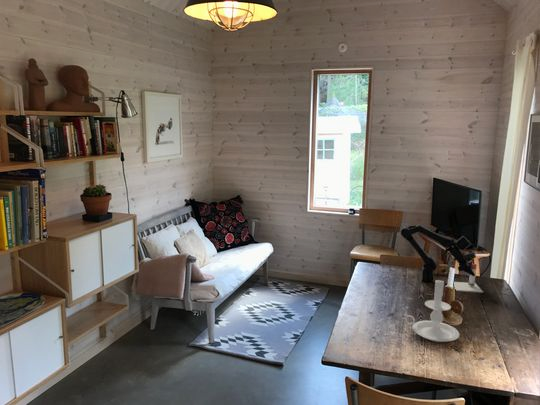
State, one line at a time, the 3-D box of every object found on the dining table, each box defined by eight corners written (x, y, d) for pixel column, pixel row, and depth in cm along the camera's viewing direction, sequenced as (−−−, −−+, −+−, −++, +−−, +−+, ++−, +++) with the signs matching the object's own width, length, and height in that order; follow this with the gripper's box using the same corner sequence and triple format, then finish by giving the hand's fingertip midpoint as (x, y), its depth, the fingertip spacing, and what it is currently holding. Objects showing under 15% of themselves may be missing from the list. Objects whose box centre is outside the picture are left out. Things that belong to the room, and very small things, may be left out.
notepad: (453, 291, 260) (453, 290, 260) (447, 282, 275) (447, 281, 275) (483, 292, 258) (483, 291, 258) (475, 283, 272) (475, 282, 272)
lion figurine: (429, 273, 290) (430, 260, 289) (429, 271, 295) (430, 258, 293) (453, 276, 286) (454, 263, 284) (452, 273, 291) (453, 260, 289)
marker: (469, 285, 265) (471, 265, 263) (467, 283, 268) (469, 263, 266) (475, 286, 264) (477, 265, 262) (473, 283, 268) (475, 263, 266)
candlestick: (404, 322, 218) (408, 268, 213) (457, 330, 210) (463, 275, 205) (401, 340, 199) (405, 282, 194) (459, 351, 191) (465, 290, 186)
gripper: (465, 250, 257) (484, 272, 253) (470, 243, 272) (488, 263, 268) (450, 260, 262) (468, 282, 258) (456, 253, 278) (473, 273, 274)
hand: (475, 274), depth 265 cm, fingers closed on marker, 3 cm apart
